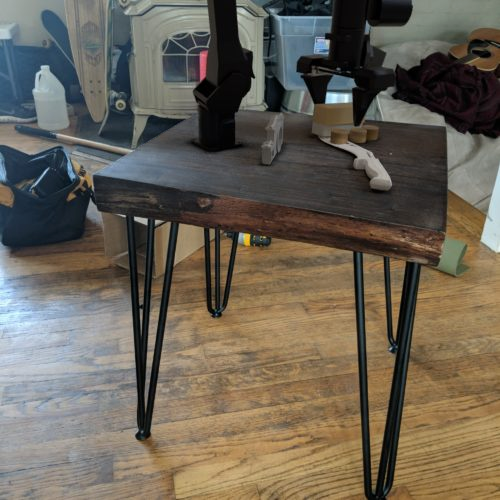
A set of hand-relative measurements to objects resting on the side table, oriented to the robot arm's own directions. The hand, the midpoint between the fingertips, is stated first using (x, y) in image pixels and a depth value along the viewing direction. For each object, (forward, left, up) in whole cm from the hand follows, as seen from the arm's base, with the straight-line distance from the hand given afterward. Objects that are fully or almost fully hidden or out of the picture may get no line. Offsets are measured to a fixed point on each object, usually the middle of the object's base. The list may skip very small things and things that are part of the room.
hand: (338, 120), depth 93 cm
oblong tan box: (0, 0, -2) cm, 2 cm away
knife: (+11, -8, -3) cm, 14 cm away
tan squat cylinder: (+5, -4, -2) cm, 7 cm away
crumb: (+5, +4, -3) cm, 6 cm away
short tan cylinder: (+5, +1, -3) cm, 5 cm away
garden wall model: (+2, -17, -3) cm, 17 cm away
